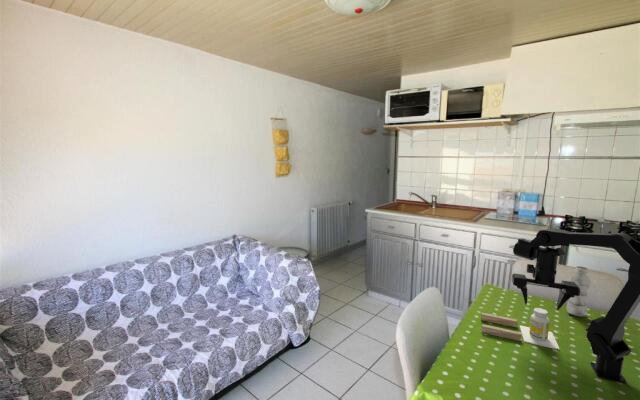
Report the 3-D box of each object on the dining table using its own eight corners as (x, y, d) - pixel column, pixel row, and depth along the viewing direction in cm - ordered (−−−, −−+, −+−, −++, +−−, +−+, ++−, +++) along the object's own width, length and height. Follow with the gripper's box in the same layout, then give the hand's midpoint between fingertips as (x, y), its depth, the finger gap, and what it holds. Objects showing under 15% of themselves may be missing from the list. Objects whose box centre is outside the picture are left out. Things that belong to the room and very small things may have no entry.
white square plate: (559, 349, 102) (559, 348, 102) (524, 341, 106) (524, 340, 106) (551, 332, 112) (551, 331, 112) (519, 326, 116) (519, 325, 116)
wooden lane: (520, 341, 107) (521, 334, 106) (482, 332, 112) (482, 326, 112) (516, 325, 116) (517, 319, 116) (481, 318, 122) (481, 312, 121)
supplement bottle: (541, 332, 111) (544, 307, 110) (551, 341, 106) (554, 315, 104) (525, 331, 112) (528, 306, 110) (534, 340, 106) (537, 314, 105)
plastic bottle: (562, 312, 126) (567, 266, 123) (571, 309, 129) (577, 264, 126) (580, 320, 120) (587, 272, 117) (589, 316, 123) (596, 269, 120)
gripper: (573, 261, 108) (567, 302, 110) (511, 253, 116) (507, 292, 119) (583, 272, 98) (577, 317, 101) (515, 263, 106) (511, 304, 109)
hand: (541, 306), depth 107 cm, fingers open, 9 cm apart
